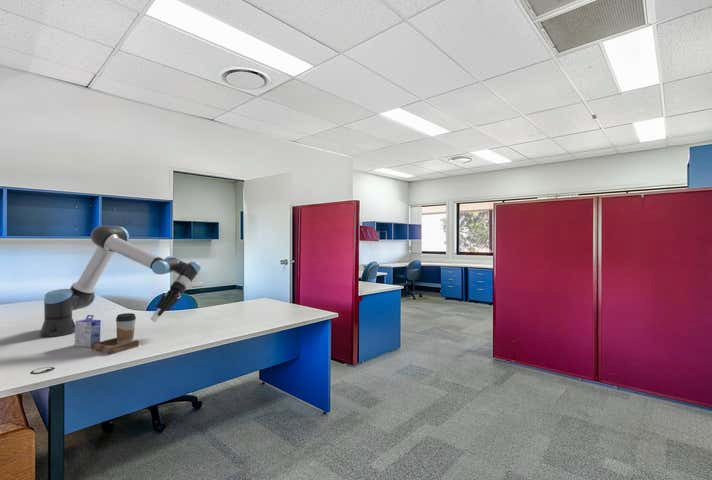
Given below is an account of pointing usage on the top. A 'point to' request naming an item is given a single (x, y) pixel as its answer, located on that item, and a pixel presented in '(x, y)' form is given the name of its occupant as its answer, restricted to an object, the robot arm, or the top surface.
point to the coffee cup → (125, 327)
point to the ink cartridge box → (87, 332)
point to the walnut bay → (110, 349)
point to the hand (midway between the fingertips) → (153, 320)
